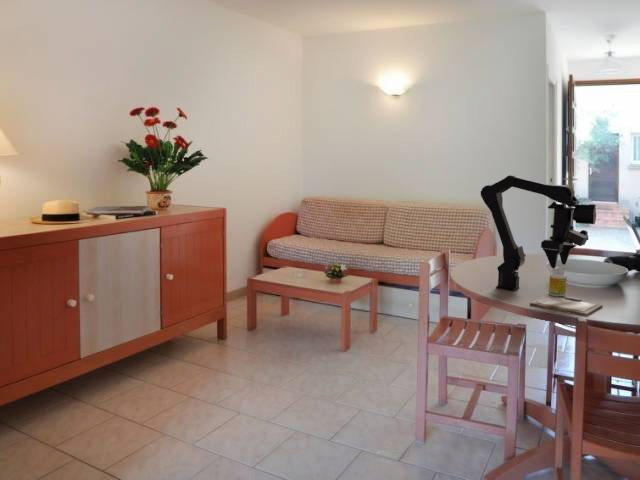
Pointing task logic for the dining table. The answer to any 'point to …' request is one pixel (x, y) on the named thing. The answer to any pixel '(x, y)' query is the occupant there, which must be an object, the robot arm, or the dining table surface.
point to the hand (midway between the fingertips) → (558, 266)
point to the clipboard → (567, 305)
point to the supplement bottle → (557, 282)
